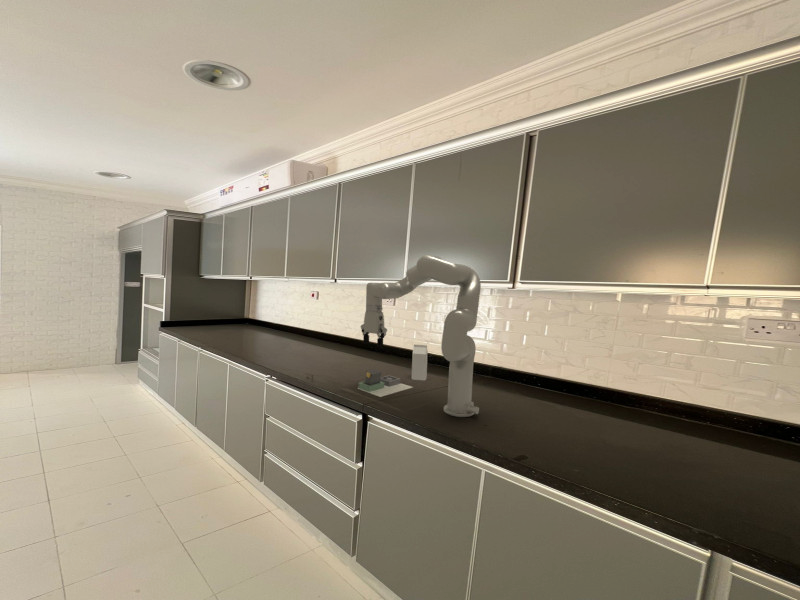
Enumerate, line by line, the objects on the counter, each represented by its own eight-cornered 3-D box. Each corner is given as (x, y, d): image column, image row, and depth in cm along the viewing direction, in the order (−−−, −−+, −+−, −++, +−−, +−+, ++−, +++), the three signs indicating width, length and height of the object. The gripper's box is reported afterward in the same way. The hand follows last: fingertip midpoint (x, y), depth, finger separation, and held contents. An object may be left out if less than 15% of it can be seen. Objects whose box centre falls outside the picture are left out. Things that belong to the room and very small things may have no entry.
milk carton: (424, 382, 182) (426, 346, 181) (411, 381, 184) (412, 345, 183) (426, 379, 189) (427, 344, 188) (413, 377, 191) (414, 343, 190)
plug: (379, 387, 167) (381, 372, 166) (368, 390, 162) (370, 374, 161) (373, 384, 170) (376, 369, 168) (362, 387, 165) (365, 371, 163)
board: (413, 389, 170) (413, 382, 170) (380, 399, 154) (380, 391, 154) (389, 382, 181) (390, 375, 181) (356, 390, 165) (357, 383, 165)
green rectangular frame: (384, 387, 167) (384, 382, 167) (369, 391, 160) (369, 386, 160) (373, 384, 172) (373, 379, 172) (358, 388, 165) (358, 382, 165)
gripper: (392, 310, 161) (391, 346, 162) (367, 307, 173) (366, 341, 174) (380, 310, 156) (379, 348, 156) (355, 307, 167) (355, 343, 168)
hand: (373, 345), depth 165 cm, fingers open, 9 cm apart
